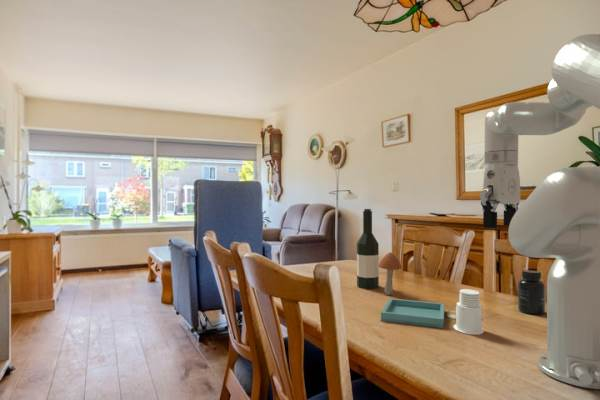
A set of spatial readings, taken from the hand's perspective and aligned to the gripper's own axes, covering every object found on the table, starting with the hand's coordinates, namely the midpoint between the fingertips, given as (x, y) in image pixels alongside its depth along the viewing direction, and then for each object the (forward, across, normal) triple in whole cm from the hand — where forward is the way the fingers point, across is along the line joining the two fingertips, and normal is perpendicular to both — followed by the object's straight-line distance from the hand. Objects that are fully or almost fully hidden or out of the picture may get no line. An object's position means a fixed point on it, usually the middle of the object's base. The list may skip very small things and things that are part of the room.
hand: (500, 226), depth 95 cm
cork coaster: (+27, +2, +11) cm, 29 cm away
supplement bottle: (+27, +23, +3) cm, 36 cm away
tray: (+27, -9, +20) cm, 34 cm away
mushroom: (+27, +4, +40) cm, 49 cm away
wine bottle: (+28, +7, +54) cm, 61 cm away
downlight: (+27, -7, +4) cm, 28 cm away
